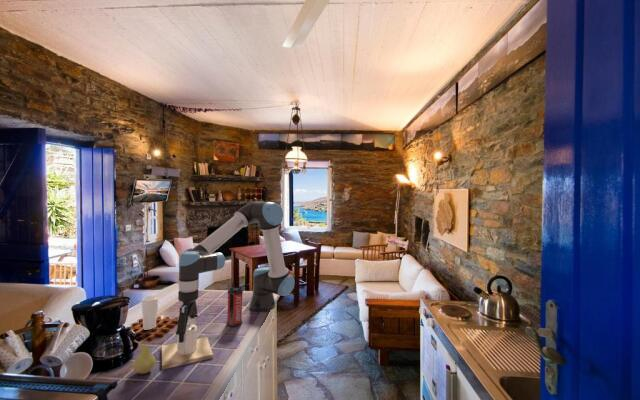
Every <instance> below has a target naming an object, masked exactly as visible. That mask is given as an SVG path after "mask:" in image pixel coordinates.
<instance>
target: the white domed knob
mask: <svg viewBox="0 0 640 400" xmlns="http://www.w3.org/2000/svg"><path fill="white" fill-rule="evenodd" d="M188 324H189V323H188ZM188 324H187V327H186V331H185V332H186V349H185V350H178V338H177V340H176V341H177V342H176V343H177V352H178V354H182V355H184V354H185V355H186V354H190V353H193V352H194V351H195V350H196V349H197V339H198V326H197V325H196V324H195V325H192V324H189V325H188Z"/></svg>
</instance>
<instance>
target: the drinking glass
mask: <svg viewBox="0 0 640 400" xmlns="http://www.w3.org/2000/svg"><path fill="white" fill-rule="evenodd" d="M158 310H159V297H158V296H157V295H149V296H145V297H143V298H142V300H141V312H142V313H141V315H142V330H143V329H144V330H148V329H152V328H154V327H156V328H157V320H158V319H157V316H158ZM144 330H143V331H144Z"/></svg>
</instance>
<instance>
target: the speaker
mask: <svg viewBox="0 0 640 400" xmlns="http://www.w3.org/2000/svg"><path fill="white" fill-rule="evenodd" d="M243 292H244V289H243V288H242V287H239V286H235V287H234V286H233V287H231V288H229V289H228V290H227V311H226V313H227V315H226V316H227V319H226V325H227V326H229V327H238V326H241V325H242V324H243V320H242V318H243ZM240 324H241V325H240Z"/></svg>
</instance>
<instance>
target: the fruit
mask: <svg viewBox="0 0 640 400" xmlns="http://www.w3.org/2000/svg"><path fill="white" fill-rule="evenodd" d="M133 342H134V343H137V344H138V345H140V352H139V355H137V357H136V358H135V359H134V362H133V364H132V365H133V366H132V369H133V371H134V372H135V373H137V374H141V375H144V374H147V373H149V372H151V371H152V370H153V368H154V367H155V365H156V357H155V356H154V355H153V354H152V352H151V351H150V349H149V347H148V346H147V345H146V344H145V343H142V342H139V341H138V340H136V339H134V340H133Z"/></svg>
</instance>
